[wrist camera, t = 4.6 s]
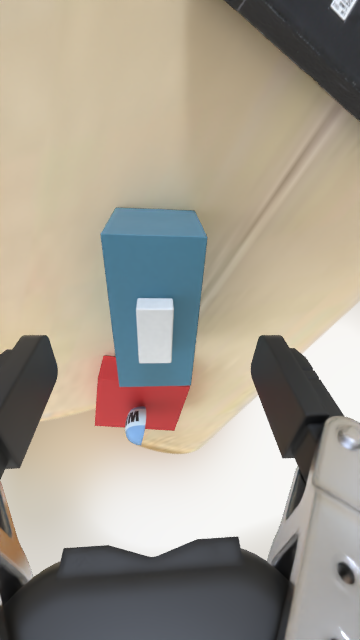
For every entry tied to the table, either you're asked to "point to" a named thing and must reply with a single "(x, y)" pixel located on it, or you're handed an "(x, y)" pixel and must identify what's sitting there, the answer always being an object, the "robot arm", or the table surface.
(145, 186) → the table surface
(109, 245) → the tissue box
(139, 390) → the red rectangular block
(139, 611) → the robot arm
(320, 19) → the disk drive
